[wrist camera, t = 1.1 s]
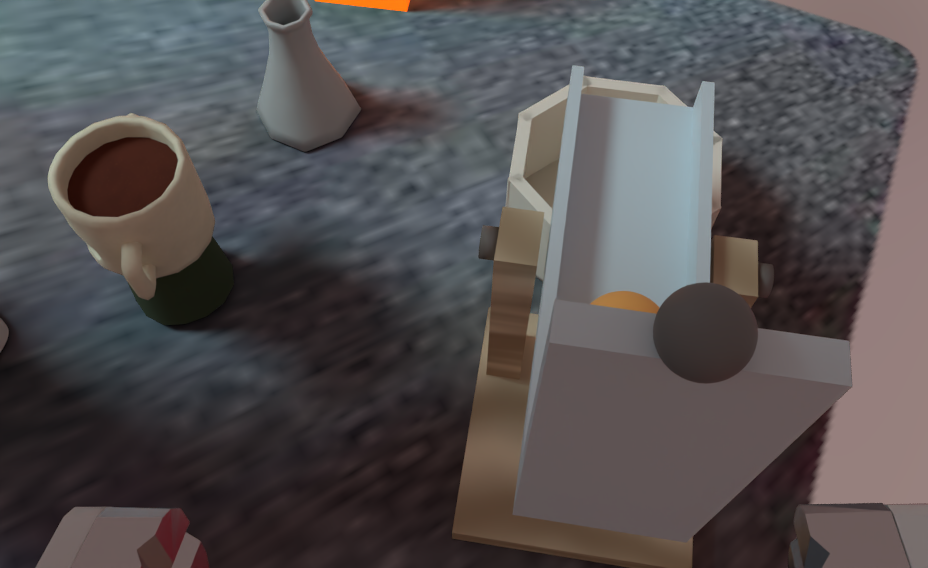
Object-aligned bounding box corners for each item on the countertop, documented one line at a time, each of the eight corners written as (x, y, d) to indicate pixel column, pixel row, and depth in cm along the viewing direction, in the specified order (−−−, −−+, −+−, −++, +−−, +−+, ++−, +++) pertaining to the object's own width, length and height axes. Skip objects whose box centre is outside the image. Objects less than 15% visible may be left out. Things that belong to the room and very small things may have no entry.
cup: (470, 204, 59) (471, 140, 53) (610, 119, 62) (626, 50, 56) (589, 339, 54) (605, 286, 48) (733, 239, 57) (766, 178, 51)
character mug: (132, 226, 58) (51, 96, 46) (238, 210, 58) (184, 78, 47) (131, 372, 53) (40, 267, 41) (247, 353, 53) (189, 244, 42)
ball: (552, 347, 38) (561, 306, 35) (619, 301, 39) (635, 257, 36) (610, 416, 37) (626, 381, 33) (679, 366, 38) (701, 326, 34)
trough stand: (691, 577, 47) (780, 508, 34) (447, 537, 48) (441, 455, 35) (697, 348, 54) (774, 216, 40) (483, 317, 55) (490, 178, 41)
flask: (378, 111, 63) (365, 7, 54) (304, 168, 60) (277, 69, 51) (314, 60, 65) (291, -48, 56) (239, 113, 63) (203, 9, 54)
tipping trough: (674, 566, 37) (885, 382, 18) (508, 539, 37) (553, 334, 19) (691, 144, 47) (833, -232, 29) (562, 128, 48) (623, -252, 30)
